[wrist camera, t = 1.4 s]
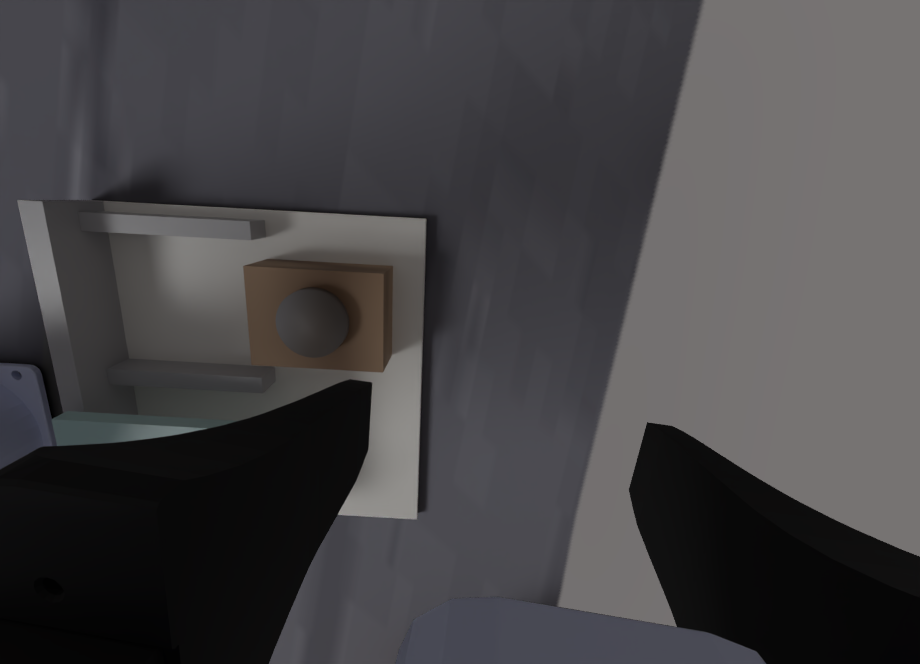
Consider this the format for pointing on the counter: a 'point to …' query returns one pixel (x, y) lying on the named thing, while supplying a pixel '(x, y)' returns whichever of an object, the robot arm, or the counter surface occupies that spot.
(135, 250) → the housing
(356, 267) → the block
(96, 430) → the cover
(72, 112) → the counter surface
